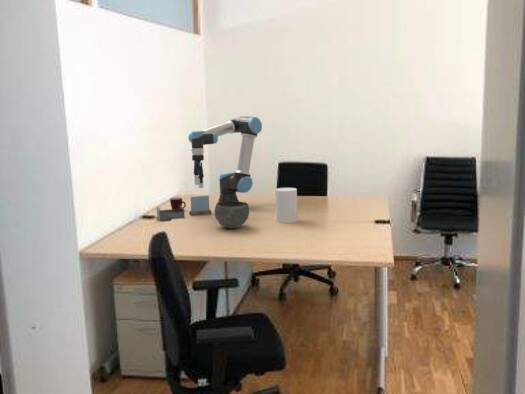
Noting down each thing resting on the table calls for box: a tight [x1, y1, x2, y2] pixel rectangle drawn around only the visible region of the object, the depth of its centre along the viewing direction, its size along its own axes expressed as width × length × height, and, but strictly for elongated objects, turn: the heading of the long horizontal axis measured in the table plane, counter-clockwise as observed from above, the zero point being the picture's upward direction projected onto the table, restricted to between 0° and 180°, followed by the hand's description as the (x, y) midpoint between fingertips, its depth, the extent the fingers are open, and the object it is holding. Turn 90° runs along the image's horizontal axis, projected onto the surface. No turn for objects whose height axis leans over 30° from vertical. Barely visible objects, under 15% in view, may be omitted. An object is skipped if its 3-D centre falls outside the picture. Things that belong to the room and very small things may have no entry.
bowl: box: [214, 201, 250, 229], centre depth 351 cm, size 21×21×15 cm
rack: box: [156, 205, 185, 222], centre depth 382 cm, size 16×13×7 cm
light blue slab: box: [190, 194, 210, 212], centre depth 388 cm, size 12×2×12 cm, turn 108°
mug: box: [169, 197, 187, 209], centre depth 399 cm, size 10×8×10 cm
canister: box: [274, 187, 298, 224], centre depth 365 cm, size 14×14×20 cm
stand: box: [188, 208, 212, 217], centre depth 389 cm, size 14×7×3 cm, turn 108°
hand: (198, 186), depth 385 cm, fingers open, 13 cm apart
